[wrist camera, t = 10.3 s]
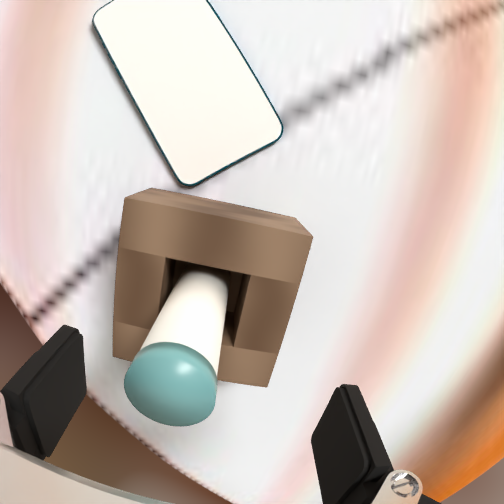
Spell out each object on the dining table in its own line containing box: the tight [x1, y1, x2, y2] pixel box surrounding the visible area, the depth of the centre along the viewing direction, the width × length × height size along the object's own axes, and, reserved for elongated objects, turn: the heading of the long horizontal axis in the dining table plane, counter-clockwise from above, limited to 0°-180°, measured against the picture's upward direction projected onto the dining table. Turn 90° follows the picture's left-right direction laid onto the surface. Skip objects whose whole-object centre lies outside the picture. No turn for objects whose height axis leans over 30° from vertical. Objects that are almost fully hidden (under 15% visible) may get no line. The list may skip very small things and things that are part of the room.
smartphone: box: [92, 0, 283, 186], centre depth 19 cm, size 8×1×16 cm
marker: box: [124, 262, 230, 426], centre depth 16 cm, size 3×3×12 cm
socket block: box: [113, 188, 313, 387], centre depth 20 cm, size 10×10×6 cm
